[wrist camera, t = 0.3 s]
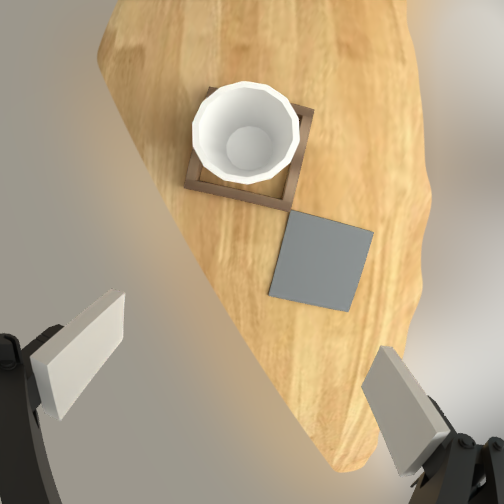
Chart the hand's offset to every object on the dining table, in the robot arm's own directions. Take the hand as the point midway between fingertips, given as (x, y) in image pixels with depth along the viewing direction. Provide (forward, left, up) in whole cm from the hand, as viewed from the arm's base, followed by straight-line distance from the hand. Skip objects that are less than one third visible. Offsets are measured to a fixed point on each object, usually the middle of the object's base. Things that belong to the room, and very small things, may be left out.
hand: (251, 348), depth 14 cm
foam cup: (-12, -4, -27) cm, 29 cm away
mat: (+1, +9, -26) cm, 28 cm away
